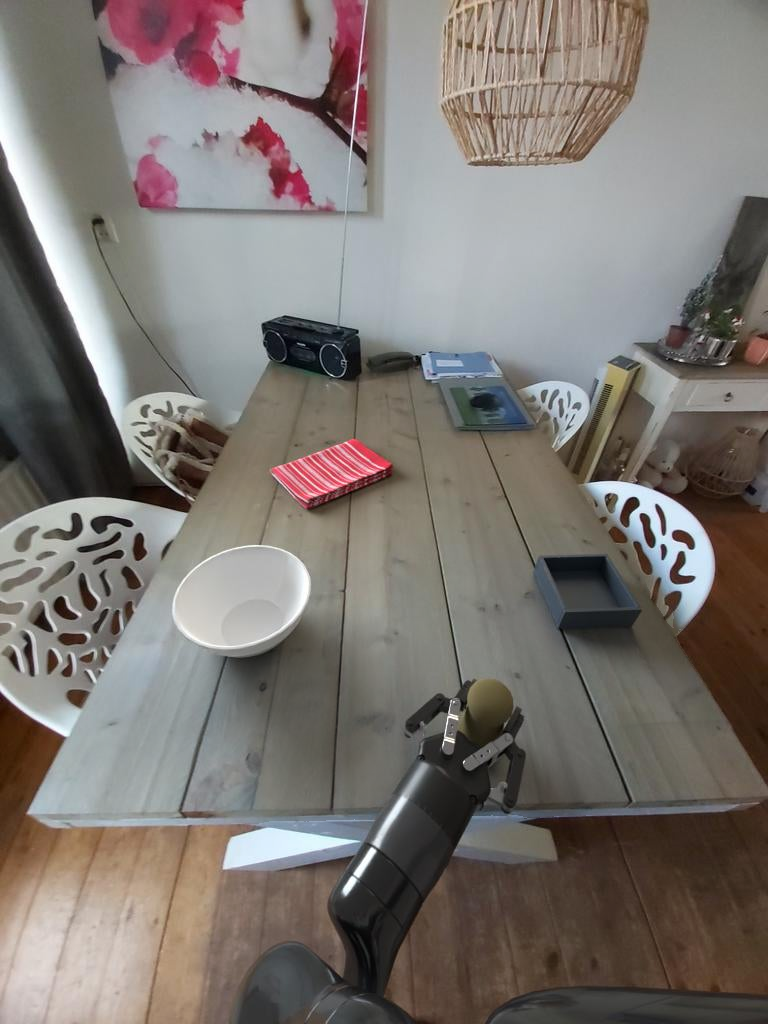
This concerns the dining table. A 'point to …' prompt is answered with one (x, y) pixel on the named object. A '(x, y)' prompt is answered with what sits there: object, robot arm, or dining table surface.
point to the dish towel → (332, 473)
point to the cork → (486, 711)
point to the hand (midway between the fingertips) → (495, 696)
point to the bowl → (242, 600)
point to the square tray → (585, 591)
